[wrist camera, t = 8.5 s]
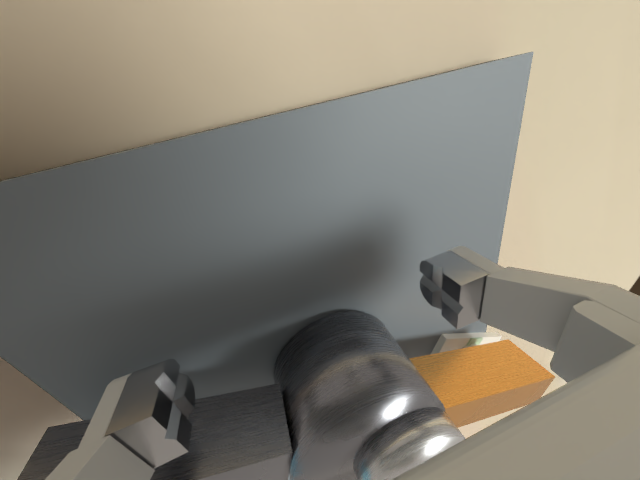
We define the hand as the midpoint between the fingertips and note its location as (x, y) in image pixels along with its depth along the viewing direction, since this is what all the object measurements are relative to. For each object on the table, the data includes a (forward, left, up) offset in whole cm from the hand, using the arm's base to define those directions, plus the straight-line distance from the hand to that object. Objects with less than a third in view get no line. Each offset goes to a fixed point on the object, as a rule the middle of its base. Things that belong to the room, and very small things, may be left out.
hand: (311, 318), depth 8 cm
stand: (+5, +1, -4) cm, 6 cm away
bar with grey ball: (+5, +1, -2) cm, 6 cm away
